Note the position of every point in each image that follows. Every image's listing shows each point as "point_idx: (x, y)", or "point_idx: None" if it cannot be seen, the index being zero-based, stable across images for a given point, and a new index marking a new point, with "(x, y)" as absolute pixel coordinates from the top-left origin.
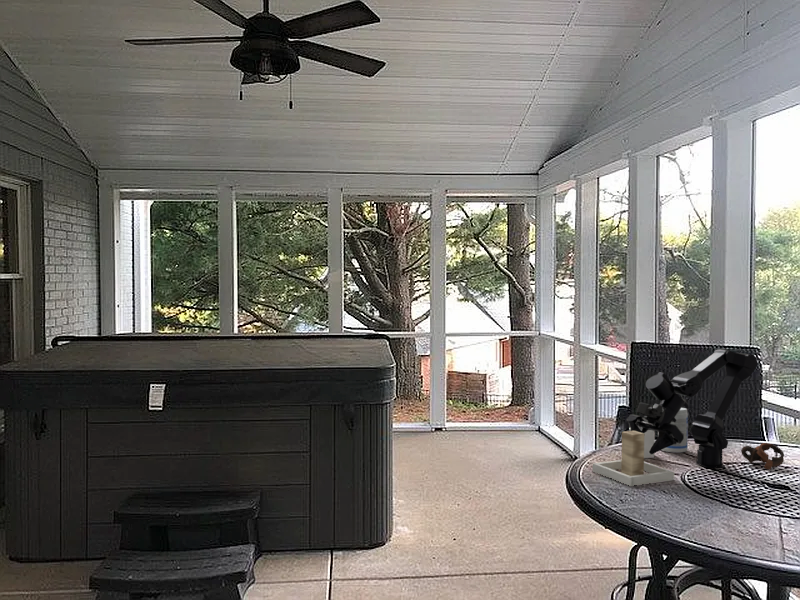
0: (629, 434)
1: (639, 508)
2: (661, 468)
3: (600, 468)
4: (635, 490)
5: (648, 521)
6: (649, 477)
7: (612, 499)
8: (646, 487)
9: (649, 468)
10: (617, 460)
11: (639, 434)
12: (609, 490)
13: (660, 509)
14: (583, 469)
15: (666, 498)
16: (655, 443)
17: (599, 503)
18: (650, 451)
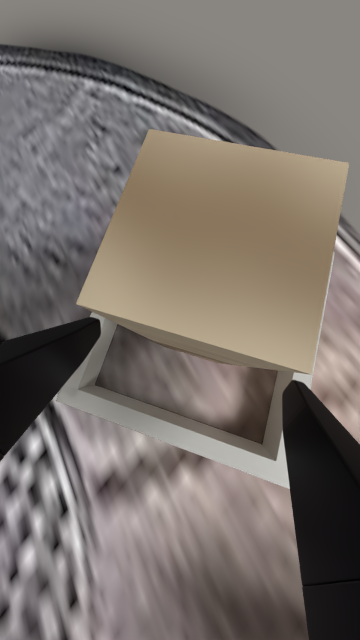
0: (200, 144)
1: (49, 118)
2: (112, 406)
3: None
4: (114, 210)
5: (8, 79)
6: None
7: (119, 119)
8: None
9: (178, 420)
10: (310, 377)
11: (111, 227)
12: None
13: (13, 143)
14: (353, 268)
15: (29, 214)
16: (21, 343)
17: (124, 83)
18: (87, 318)
